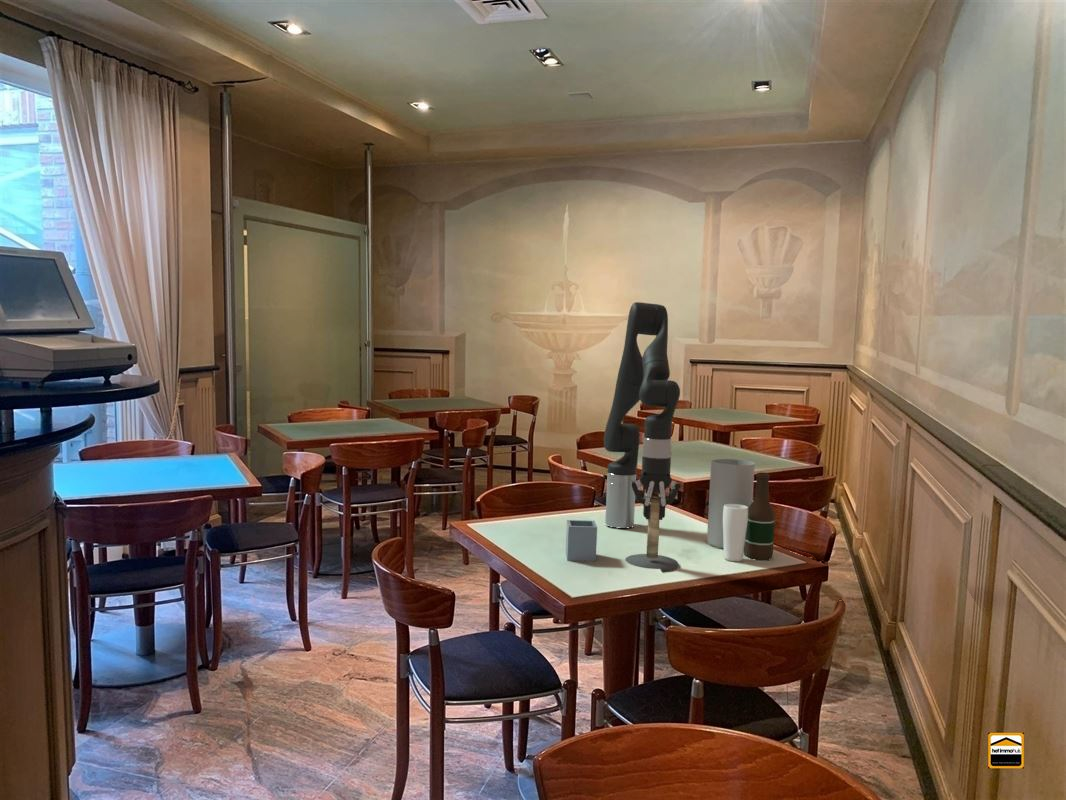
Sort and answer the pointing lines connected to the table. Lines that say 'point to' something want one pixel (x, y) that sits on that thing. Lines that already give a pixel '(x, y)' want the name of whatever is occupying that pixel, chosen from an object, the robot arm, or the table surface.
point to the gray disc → (652, 562)
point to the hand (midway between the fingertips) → (653, 518)
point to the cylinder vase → (727, 493)
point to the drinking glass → (734, 531)
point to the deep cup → (581, 540)
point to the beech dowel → (653, 528)
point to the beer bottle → (760, 522)
